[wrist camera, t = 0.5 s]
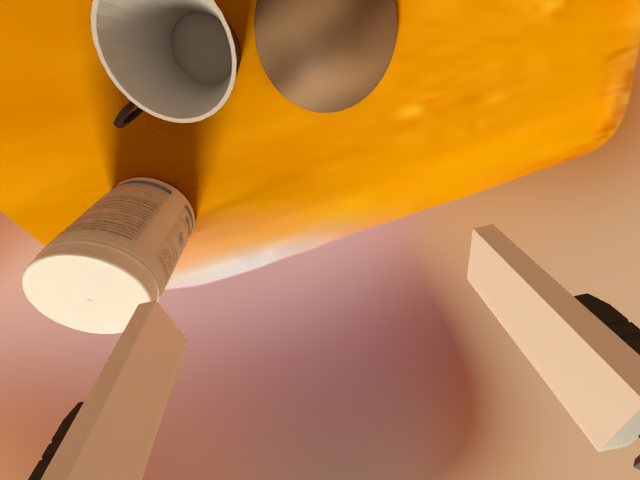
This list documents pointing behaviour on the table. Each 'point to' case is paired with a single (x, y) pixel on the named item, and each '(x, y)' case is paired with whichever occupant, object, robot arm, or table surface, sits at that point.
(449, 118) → the table surface
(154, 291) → the supplement tub
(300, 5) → the walnut base
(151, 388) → the robot arm
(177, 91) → the coffee mug
